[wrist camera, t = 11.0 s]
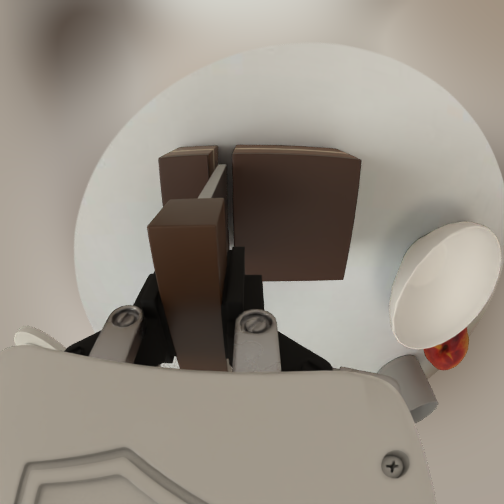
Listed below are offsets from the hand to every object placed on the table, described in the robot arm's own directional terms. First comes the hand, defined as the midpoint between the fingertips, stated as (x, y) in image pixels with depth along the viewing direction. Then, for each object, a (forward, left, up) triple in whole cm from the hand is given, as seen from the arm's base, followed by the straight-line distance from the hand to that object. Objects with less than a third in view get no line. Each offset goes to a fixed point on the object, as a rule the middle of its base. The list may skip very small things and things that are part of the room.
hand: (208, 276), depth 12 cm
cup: (+27, -30, -14) cm, 43 cm away
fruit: (+31, -20, -14) cm, 39 cm away
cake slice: (-3, -1, -14) cm, 14 cm away
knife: (0, 0, -8) cm, 8 cm away
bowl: (+23, -8, -14) cm, 28 cm away
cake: (+5, -1, -14) cm, 15 cm away
